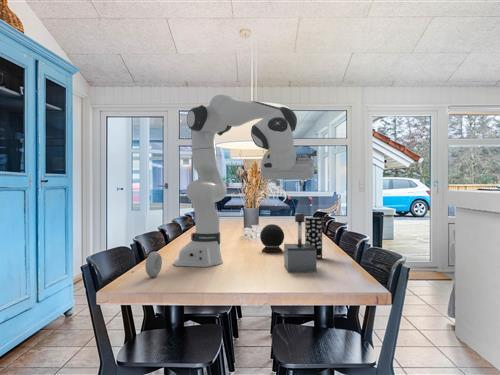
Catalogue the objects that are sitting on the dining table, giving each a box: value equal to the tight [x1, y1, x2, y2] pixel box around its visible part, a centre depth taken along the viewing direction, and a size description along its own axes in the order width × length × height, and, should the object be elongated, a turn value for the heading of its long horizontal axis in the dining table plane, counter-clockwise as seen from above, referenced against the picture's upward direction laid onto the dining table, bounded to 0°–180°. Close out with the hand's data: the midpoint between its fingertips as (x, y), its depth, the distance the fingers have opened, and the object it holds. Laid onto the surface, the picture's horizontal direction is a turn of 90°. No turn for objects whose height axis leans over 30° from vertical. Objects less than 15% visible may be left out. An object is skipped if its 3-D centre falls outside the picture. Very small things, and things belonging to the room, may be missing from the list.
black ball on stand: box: [259, 223, 285, 254], centre depth 203 cm, size 13×13×15 cm
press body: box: [283, 243, 318, 273], centre depth 160 cm, size 12×12×10 cm
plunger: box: [294, 212, 306, 247], centre depth 160 cm, size 8×8×17 cm
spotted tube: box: [304, 216, 323, 261], centre depth 184 cm, size 8×8×20 cm
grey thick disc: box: [144, 251, 163, 278], centre depth 146 cm, size 10×3×10 cm, turn 168°
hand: (289, 184), depth 146 cm, fingers open, 8 cm apart
